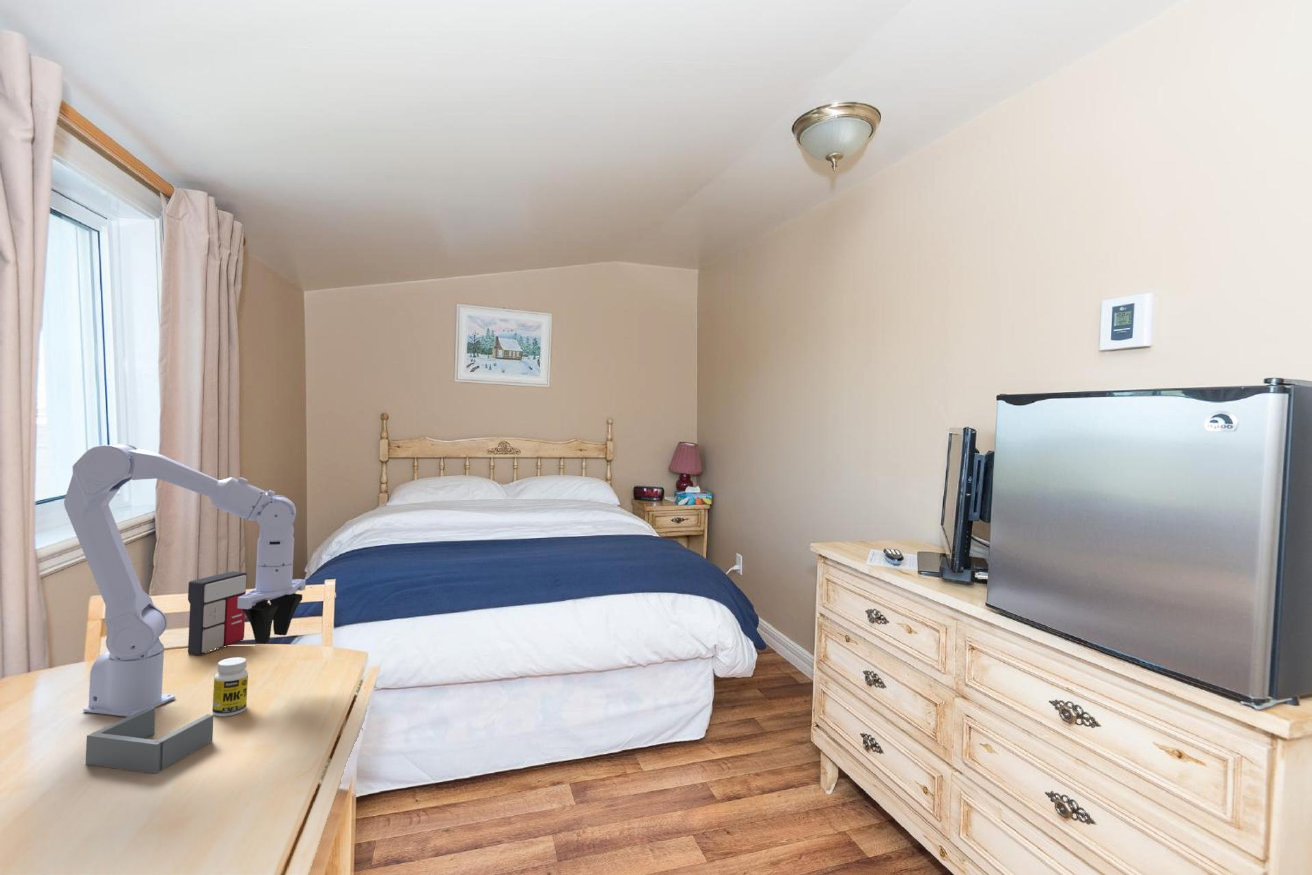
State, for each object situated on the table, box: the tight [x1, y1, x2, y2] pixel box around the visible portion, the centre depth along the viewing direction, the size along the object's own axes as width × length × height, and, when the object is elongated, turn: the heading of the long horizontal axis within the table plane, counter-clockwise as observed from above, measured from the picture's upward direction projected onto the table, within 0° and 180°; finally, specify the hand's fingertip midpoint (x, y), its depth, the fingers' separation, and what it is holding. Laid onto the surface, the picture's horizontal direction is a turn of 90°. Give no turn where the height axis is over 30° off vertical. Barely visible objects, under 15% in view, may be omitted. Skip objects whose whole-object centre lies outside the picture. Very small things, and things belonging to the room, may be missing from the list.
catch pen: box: [85, 707, 215, 775], centre depth 93 cm, size 11×10×4 cm
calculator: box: [187, 570, 248, 656], centre depth 136 cm, size 11×4×15 cm, turn 168°
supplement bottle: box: [211, 656, 249, 717], centre depth 107 cm, size 5×5×8 cm
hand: (271, 638), depth 116 cm, fingers open, 4 cm apart
